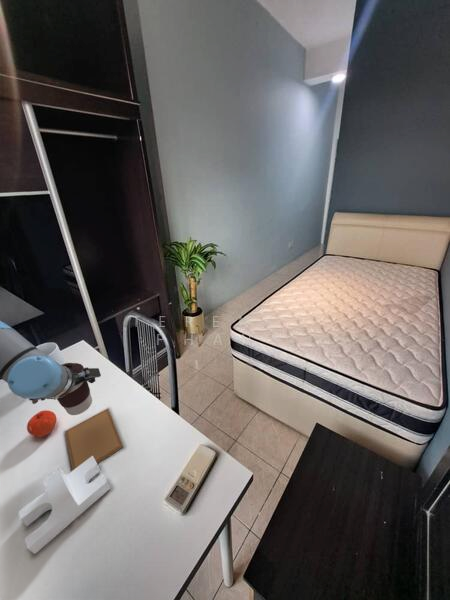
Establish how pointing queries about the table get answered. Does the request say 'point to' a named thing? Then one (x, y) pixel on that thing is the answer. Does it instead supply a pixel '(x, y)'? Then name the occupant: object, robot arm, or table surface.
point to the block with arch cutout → (63, 501)
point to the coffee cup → (76, 394)
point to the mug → (52, 352)
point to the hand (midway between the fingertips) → (72, 386)
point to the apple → (42, 423)
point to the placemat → (93, 439)
